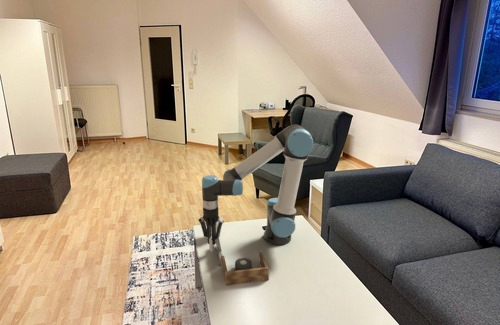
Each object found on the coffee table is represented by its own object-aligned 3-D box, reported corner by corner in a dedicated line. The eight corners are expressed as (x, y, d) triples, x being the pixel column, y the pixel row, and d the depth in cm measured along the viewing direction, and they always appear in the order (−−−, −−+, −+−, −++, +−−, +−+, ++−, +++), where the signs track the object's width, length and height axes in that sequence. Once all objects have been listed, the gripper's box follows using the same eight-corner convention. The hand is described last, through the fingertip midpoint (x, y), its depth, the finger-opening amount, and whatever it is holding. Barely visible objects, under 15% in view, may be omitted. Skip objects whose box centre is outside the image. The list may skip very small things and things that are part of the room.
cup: (224, 233, 196) (224, 215, 193) (221, 242, 187) (221, 224, 184) (207, 232, 197) (206, 215, 194) (203, 241, 188) (202, 223, 184)
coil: (250, 263, 168) (250, 256, 167) (253, 273, 160) (253, 266, 159) (233, 265, 166) (233, 258, 165) (236, 275, 159) (236, 268, 158)
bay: (261, 262, 168) (261, 251, 167) (268, 279, 155) (268, 268, 153) (221, 266, 165) (221, 255, 163) (225, 285, 152) (225, 273, 150)
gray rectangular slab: (215, 246, 182) (215, 234, 180) (218, 245, 183) (218, 234, 181) (219, 266, 165) (219, 253, 163) (223, 265, 165) (222, 252, 163)
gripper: (195, 208, 167) (197, 251, 174) (219, 211, 163) (220, 255, 170) (202, 202, 173) (203, 243, 180) (225, 205, 169) (226, 248, 176)
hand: (212, 249), depth 175 cm, fingers closed
